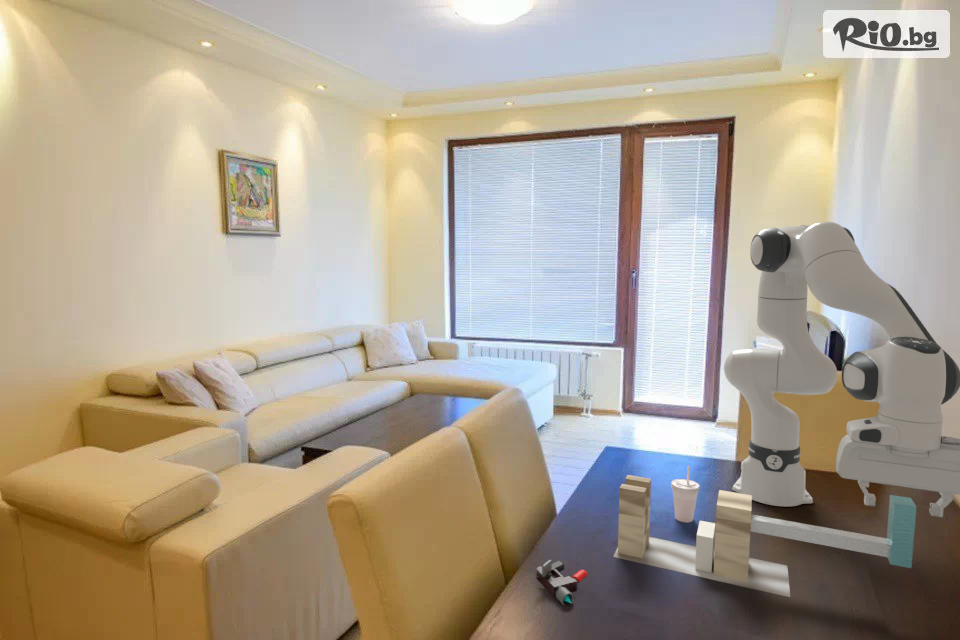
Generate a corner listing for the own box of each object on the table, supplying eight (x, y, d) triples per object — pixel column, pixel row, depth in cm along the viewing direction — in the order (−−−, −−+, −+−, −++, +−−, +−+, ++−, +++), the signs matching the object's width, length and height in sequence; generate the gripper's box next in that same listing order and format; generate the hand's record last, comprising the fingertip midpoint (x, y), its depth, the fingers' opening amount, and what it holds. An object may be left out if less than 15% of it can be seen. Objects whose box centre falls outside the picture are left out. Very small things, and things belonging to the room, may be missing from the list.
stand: (625, 536, 126) (627, 471, 125) (787, 571, 112) (791, 498, 111) (612, 562, 116) (614, 490, 114) (790, 603, 102) (794, 522, 100)
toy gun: (563, 612, 100) (563, 586, 99) (530, 577, 111) (530, 554, 110) (608, 599, 104) (608, 574, 103) (571, 567, 115) (572, 544, 114)
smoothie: (700, 530, 129) (703, 471, 128) (671, 528, 131) (673, 469, 129) (695, 518, 136) (698, 462, 134) (667, 516, 137) (669, 460, 136)
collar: (698, 552, 117) (699, 520, 117) (713, 555, 116) (715, 523, 115) (695, 568, 111) (696, 535, 110) (711, 572, 110) (713, 538, 109)
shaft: (739, 526, 112) (741, 472, 111) (905, 557, 100) (910, 497, 99) (738, 534, 108) (741, 479, 107) (911, 568, 96) (916, 506, 95)
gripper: (979, 435, 95) (972, 514, 96) (837, 420, 104) (832, 492, 105) (993, 446, 89) (985, 530, 91) (841, 429, 98) (836, 505, 100)
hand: (901, 509), depth 98 cm, fingers open, 8 cm apart
